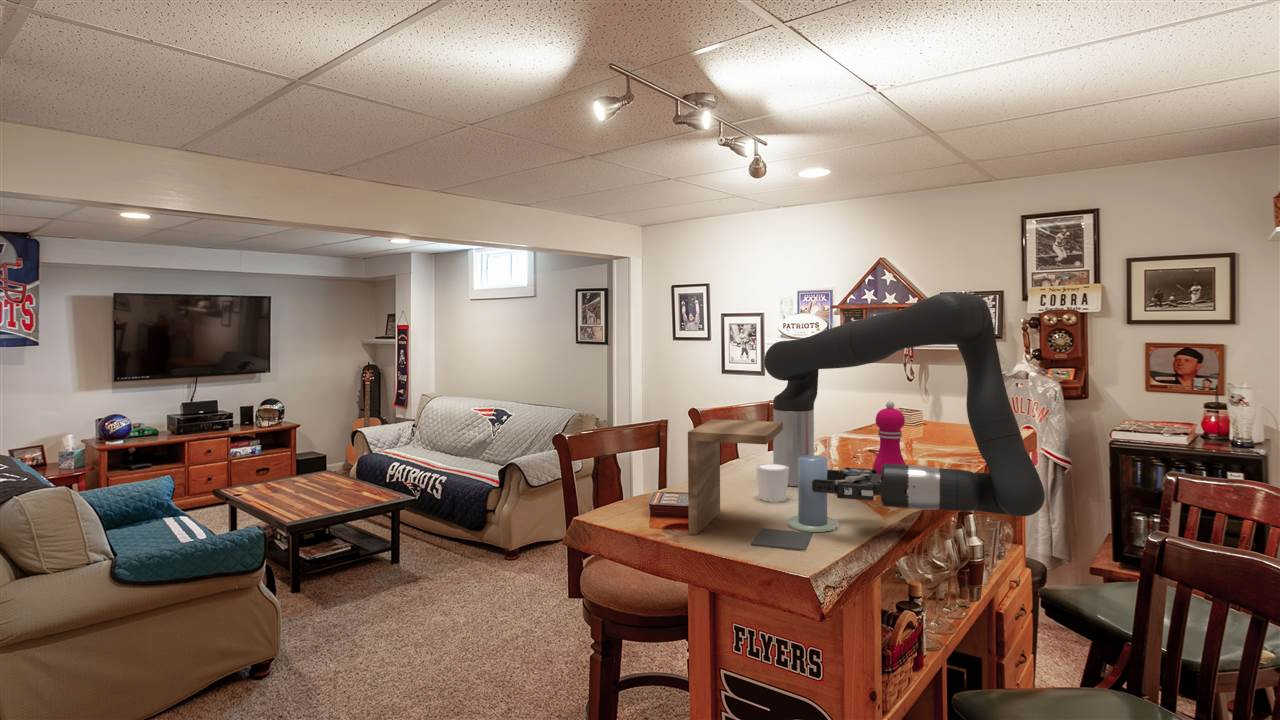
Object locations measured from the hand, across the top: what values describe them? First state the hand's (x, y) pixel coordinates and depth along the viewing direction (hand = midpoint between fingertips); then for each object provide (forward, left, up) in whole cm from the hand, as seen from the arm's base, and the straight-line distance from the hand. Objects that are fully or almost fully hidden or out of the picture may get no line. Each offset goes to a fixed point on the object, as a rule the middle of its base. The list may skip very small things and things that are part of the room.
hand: (815, 480), depth 123 cm
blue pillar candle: (0, 0, -8) cm, 8 cm away
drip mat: (+6, -9, -8) cm, 14 cm away
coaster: (0, 0, -8) cm, 9 cm away
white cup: (-19, +1, -9) cm, 21 cm away
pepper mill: (-17, +28, -9) cm, 34 cm away
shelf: (-4, -14, -8) cm, 17 cm away
